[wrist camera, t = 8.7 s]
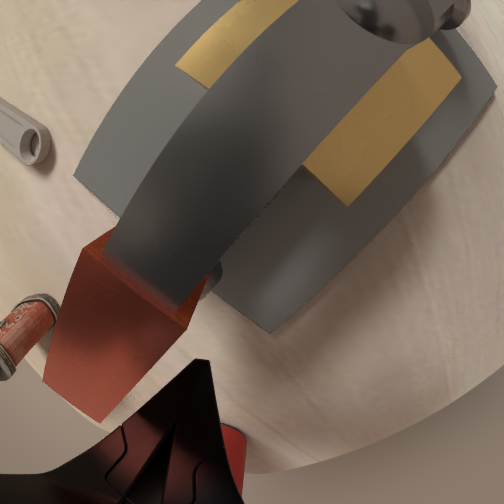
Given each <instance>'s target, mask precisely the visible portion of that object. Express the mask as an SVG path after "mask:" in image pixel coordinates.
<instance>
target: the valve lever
mask: <svg viewBox="0 0 504 504" xmlns="http://www.w3.org/2000/svg"><path fill="white" fill-rule="evenodd" d="M454 2H455V0H299V1H298V2H296V3H295V4H294V5H293V6H291V7H290V8H289V9H288V10H287V11H286V12H284V13H283V14H282V15H281V16H280V17H279V18H278V19H276V20H275V21H274V22H273V23H272V24H271V25H270V26H269V27H268V28H267V29H266V30H264V31H263V32H262V33H261V34H260V35H259V36H258V37H257V38H256V39H255V40H254V41H253V42H252V43H251V44H250V45H249V46H248V47H247V48H246V49H245V50H244V51H243V52H242V53H241V54H240V55H239V56H238V57H237V58H236V60H235V61H234V62H233V63H232V64H231V65H230V66H229V67H228V68H227V69H226V70H225V71H224V73H223V74H222V75H221V76H220V77H219V78H218V79H217V81H216V82H215V83H214V84H213V85H212V86H211V87H210V89H209V90H208V91H207V92H206V93H205V95H204V96H203V97H202V98H201V100H200V101H199V102H198V103H197V104H196V106H195V107H194V108H193V110H192V111H191V112H190V113H189V115H188V116H187V117H186V119H185V120H184V121H183V122H182V124H181V125H180V127H179V128H178V129H177V131H176V132H175V133H174V135H173V136H172V137H171V139H170V140H169V142H168V143H167V144H166V146H165V147H164V149H163V150H162V152H161V153H160V155H159V156H158V158H157V159H156V161H155V162H154V164H153V165H152V167H151V168H150V170H149V171H148V173H147V174H146V176H145V177H144V179H143V181H142V182H141V184H140V185H139V187H138V189H137V190H136V192H135V194H134V195H133V197H132V199H131V200H130V202H129V204H128V206H127V207H126V209H125V211H124V213H123V214H122V216H121V218H120V220H119V222H118V223H117V225H116V227H114V228H112V229H111V230H109V231H108V232H106V233H105V234H103V235H102V236H100V237H99V238H97V239H96V240H94V241H93V242H91V243H90V244H88V245H87V246H85V247H84V248H83V249H82V251H81V253H80V256H79V258H78V261H77V263H76V266H75V268H74V271H73V273H72V276H71V279H70V282H69V284H68V287H67V290H66V293H65V296H64V299H63V302H62V305H61V308H60V311H59V314H58V318H57V321H56V325H55V328H54V332H53V336H52V339H51V343H50V347H49V351H48V356H47V360H46V365H45V370H44V375H43V382H45V384H47V385H48V386H49V387H50V388H51V389H53V390H54V391H55V392H56V393H58V394H59V395H60V396H62V397H63V398H64V399H65V400H67V401H68V402H69V403H71V404H72V405H74V406H75V407H76V408H78V409H79V410H81V411H82V412H83V413H85V414H86V415H88V416H89V417H91V418H92V419H94V420H95V421H97V422H98V423H101V422H102V421H103V420H104V419H105V418H106V417H107V416H108V414H109V413H110V412H111V411H112V410H113V409H114V408H115V407H116V406H117V405H118V404H119V403H120V401H121V400H122V399H123V398H124V397H125V396H126V395H127V394H128V393H129V392H130V391H131V389H132V388H133V387H134V386H135V385H136V384H137V383H138V382H139V381H140V380H141V379H142V378H143V376H144V375H145V374H146V373H147V372H148V371H149V370H150V369H151V368H152V367H153V366H154V364H155V363H156V362H157V361H158V360H159V359H160V358H161V357H162V356H163V355H164V354H165V352H166V351H167V350H168V349H169V348H170V347H171V346H172V345H173V344H174V343H175V342H176V340H177V339H178V338H179V337H180V336H181V335H182V334H183V333H184V332H185V331H186V330H187V327H188V325H189V322H190V320H191V318H192V315H193V313H194V310H195V308H196V305H197V303H198V301H199V298H200V296H201V293H202V291H203V289H204V286H205V284H206V281H207V279H208V277H209V274H210V272H211V270H212V267H213V266H214V265H215V264H216V263H217V261H218V260H219V259H220V258H221V257H222V255H223V254H224V253H225V252H226V251H227V250H228V248H229V247H230V246H231V245H232V244H233V243H234V241H235V240H236V239H237V238H238V237H239V236H240V234H241V233H242V232H243V231H244V230H245V229H246V227H247V226H248V225H249V224H250V223H251V222H252V220H253V219H254V218H255V217H256V216H257V215H258V213H259V212H260V211H261V210H262V209H263V208H264V207H265V205H266V204H267V203H268V202H269V201H270V200H271V198H272V197H273V196H274V195H275V194H276V193H277V192H278V190H279V189H280V188H281V187H282V186H283V185H284V184H285V183H286V181H287V180H288V179H289V178H290V177H291V176H292V175H293V173H294V172H295V171H296V170H297V169H298V168H299V167H300V166H301V164H302V163H303V162H304V161H305V160H306V159H307V158H308V157H309V155H310V154H311V153H312V152H313V151H314V150H315V149H316V148H317V147H318V145H319V144H320V143H321V142H322V141H323V140H324V139H325V138H326V137H327V135H328V134H329V133H330V132H331V131H332V130H333V129H334V128H335V127H336V126H337V124H338V123H339V122H340V121H341V120H342V119H343V118H344V117H345V116H346V115H347V114H348V112H349V111H350V110H351V109H352V108H353V107H354V106H355V105H356V104H357V103H358V102H359V101H360V99H361V98H362V97H363V96H364V95H365V94H366V93H367V92H368V91H369V90H370V89H371V88H372V87H373V85H374V84H375V83H376V82H377V81H378V80H379V79H380V78H381V77H382V76H383V75H384V74H385V73H386V72H387V71H388V70H389V68H390V67H391V66H392V65H393V64H394V63H395V62H396V61H397V60H398V59H399V58H400V57H401V56H402V55H403V54H404V53H405V52H406V51H407V50H408V49H410V48H412V47H413V46H415V45H417V44H419V43H421V42H423V41H424V40H426V39H427V38H428V37H429V36H430V35H431V33H432V31H433V28H434V22H435V21H436V20H437V19H438V18H439V17H440V16H441V15H442V14H443V13H444V12H445V11H446V10H447V9H448V8H449V7H450V6H451V5H452V4H453V3H454Z"/></svg>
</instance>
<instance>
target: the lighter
mask: <svg viewBox="0 0 504 504" xmlns="http://www.w3.org/2000/svg"><path fill="white" fill-rule="evenodd" d="M59 311H60V306H59V304H58V303H57V302H56V300H55V299H54V298H53V297H52V296H51V295H49V294H47V293H40V294H33V295H30V296H27V297H26V298H24V299H23V300H22V301H20V302H19V303H18V304H17V305H16V306H15V307H14V308H13V310H12V311H11V313H10V314H9V315H8V316H7V317H6V318H5V319H4V320H2V321H0V381H6V380H8V379H9V378H11V376H12V375H13V374H14V373H15V371H16V366H17V365H18V363H19V362H20V361H21V360H22V359H23V357H24V356H25V355H26V354H27V353H28V352H29V351H30V349H31V348H32V347H33V346H34V345H35V344H36V343H37V342H38V340H39V339H40V338H41V337H42V336H43V335H44V334H45V333H46V332H47V331H49V330H50V329H52V328H53V327H54V326H55V325H56V321H57V318H58V314H59Z"/></svg>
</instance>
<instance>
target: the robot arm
mask: <svg viewBox="0 0 504 504" xmlns="http://www.w3.org/2000/svg"><path fill="white" fill-rule="evenodd" d="M0 504H244V501H243V499H242V497H241V495H240V493H239V490H238V488H237V485H236V483H235V480H234V478H233V475H232V471H231V468H230V464H229V461H228V456H227V452H226V448H225V443H224V438H223V433H222V428H221V423H220V418H219V412H218V407H217V401H216V396H215V390H214V384H213V378H212V372H211V366H210V361H209V360H205V359H194V360H193V361H192V362H191V363H190V364H188V365H187V366H186V367H185V368H184V369H183V370H182V371H181V372H180V373H179V374H178V375H176V376H175V377H174V378H173V379H172V380H171V381H170V382H169V383H168V384H167V385H165V386H164V387H163V388H162V389H161V390H160V391H159V392H158V393H157V394H155V395H154V396H153V397H152V398H151V399H150V400H149V401H148V402H146V403H145V404H144V405H143V406H142V407H141V408H140V409H138V410H137V411H136V412H135V413H134V414H133V415H132V416H130V417H129V418H128V419H127V420H126V421H125V422H123V423H122V426H121V425H120V426H119V427H117V428H116V429H115V430H114V431H113V432H112V433H110V434H109V435H108V436H106V437H105V438H104V439H103V440H101V441H100V442H99V443H97V444H96V445H94V446H93V447H91V448H90V449H88V450H87V451H85V452H84V453H82V454H80V455H79V456H77V457H75V458H73V459H72V460H70V461H68V462H67V463H65V464H63V465H62V466H60V467H58V468H56V469H54V470H52V471H49V472H45V473H40V474H0Z"/></svg>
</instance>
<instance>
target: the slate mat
mask: <svg viewBox="0 0 504 504" xmlns="http://www.w3.org/2000/svg"><path fill="white" fill-rule="evenodd" d="M239 1H240V0H202V1H201V2H200V3H198V4H197V5H196V6H195V7H194V8H193V9H192V10H191V11H190V12H189V13H188V14H187V15H186V16H185V17H184V18H183V19H182V20H181V21H180V22H179V23H178V24H177V25H176V26H175V27H174V28H173V29H172V30H171V31H170V32H169V33H168V34H167V36H166V37H165V38H164V39H163V40H162V41H161V42H160V43H159V45H158V46H157V47H156V48H155V49H154V50H153V52H152V53H151V54H150V55H149V56H148V58H147V59H146V60H145V61H144V63H143V64H142V65H141V66H140V68H139V69H138V70H137V71H136V73H135V74H134V75H133V77H132V78H131V79H130V81H129V82H128V84H127V85H126V86H125V88H124V89H123V91H122V92H121V93H120V95H119V96H118V98H117V99H116V101H115V102H114V104H113V105H112V107H111V108H110V110H109V112H108V113H107V115H106V116H105V118H104V120H103V121H102V123H101V125H100V126H99V128H98V130H97V131H96V133H95V135H94V137H93V138H92V140H91V142H90V144H89V146H88V147H87V149H86V151H85V153H84V155H83V157H82V159H81V161H80V163H79V165H78V167H77V169H76V171H75V173H74V175H73V176H74V177H75V178H76V179H77V180H78V181H79V182H81V183H82V184H83V185H84V186H85V187H86V188H87V189H88V190H89V191H90V192H92V193H93V194H94V195H95V196H96V197H97V198H98V199H99V200H100V201H102V202H103V203H104V204H105V205H106V206H107V207H108V208H110V209H111V210H112V211H113V212H114V213H115V214H116V215H118V216H119V217H120V218H121V216H122V214H123V213H124V211H125V209H126V207H127V206H128V204H129V202H130V200H131V199H132V197H133V195H134V194H135V192H136V190H137V189H138V187H139V185H140V184H141V182H142V181H143V179H144V177H145V176H146V174H147V173H148V171H149V170H150V168H151V167H152V165H153V164H154V162H155V161H156V159H157V158H158V156H159V155H160V153H161V152H162V150H163V149H164V147H165V146H166V144H167V143H168V142H169V140H170V139H171V137H172V136H173V135H174V133H175V132H176V131H177V129H178V128H179V127H180V125H181V124H182V122H183V121H184V120H185V119H186V117H187V116H188V115H189V113H190V112H191V111H192V110H193V108H194V107H195V106H196V104H197V103H198V102H199V101H200V100H201V98H202V97H203V96H204V95H205V93H206V92H207V90H205V89H204V88H203V87H202V86H200V85H199V84H198V83H197V82H195V81H194V80H193V79H192V78H190V77H189V76H188V75H187V74H185V73H184V72H183V71H181V70H180V69H179V68H178V67H176V66H175V65H176V63H177V62H178V61H179V60H180V59H181V58H182V57H183V56H184V54H185V53H186V52H187V51H188V50H189V49H190V48H191V47H192V46H193V45H194V44H195V43H196V41H197V40H198V39H199V38H200V37H201V36H202V35H203V34H204V33H205V32H206V31H207V30H208V29H209V28H210V27H211V26H212V25H213V24H215V23H216V22H217V21H218V20H219V19H220V18H221V17H222V16H223V15H224V14H225V13H226V12H227V11H229V10H230V9H231V8H232V7H233V6H234V5H235V4H237V3H238V2H239ZM430 39H431V40H432V41H433V43H434V44H435V45H436V46H437V47H438V48H439V49H440V50H441V52H442V53H443V54H444V55H445V56H446V58H447V59H448V60H449V61H450V63H451V64H452V65H453V66H454V68H455V69H456V70H457V71H458V73H459V74H460V75H461V77H462V78H461V79H460V81H459V82H458V83H457V84H456V86H455V87H454V88H453V89H452V90H451V92H450V93H449V94H448V95H447V97H446V98H445V99H444V100H443V101H442V103H441V104H440V105H439V106H438V107H437V108H436V110H435V111H434V112H433V113H432V114H431V116H430V117H429V118H428V119H427V120H426V121H425V123H424V124H423V125H422V126H421V127H420V128H419V129H418V131H417V132H416V133H415V134H414V135H413V136H412V137H411V139H410V140H409V141H408V142H407V143H406V144H405V145H404V146H403V148H402V149H401V150H400V151H399V152H398V153H397V154H396V155H395V157H394V158H393V159H392V160H391V161H390V162H389V163H388V164H387V165H386V166H385V168H384V169H383V170H382V171H381V172H380V173H379V174H378V175H377V176H376V177H375V178H374V180H373V181H372V182H371V183H370V184H369V185H368V186H367V187H366V188H365V189H364V190H363V191H362V192H361V193H360V195H359V196H358V197H357V198H356V199H355V200H354V201H353V202H352V203H351V204H350V205H349V206H348V207H346V206H345V205H344V204H343V203H342V202H341V201H339V200H338V199H337V198H336V197H335V196H333V195H332V194H331V193H330V192H329V191H327V190H326V189H325V188H324V187H322V186H321V185H320V184H319V183H317V182H316V181H315V180H314V179H312V178H311V177H310V176H309V175H308V174H307V173H306V172H305V171H304V170H303V169H302V170H301V171H300V172H299V174H298V175H297V176H296V177H295V178H294V179H293V180H292V181H291V182H290V183H289V184H288V185H287V187H286V188H285V189H284V190H283V191H282V192H281V193H280V194H279V195H278V196H277V197H276V199H275V200H274V201H273V202H272V203H271V204H270V205H269V206H268V207H267V208H266V209H265V211H264V212H263V213H262V214H261V215H260V216H259V217H258V218H257V219H256V221H255V222H254V223H253V224H252V225H251V226H250V227H249V228H248V229H247V231H246V232H245V233H244V234H243V235H242V236H241V237H240V238H239V239H238V241H237V242H236V243H235V244H234V245H233V246H232V247H231V248H230V249H229V251H228V252H227V253H226V254H225V255H224V256H223V257H222V258H221V260H220V261H221V265H222V270H223V274H222V278H221V280H220V281H219V282H218V283H217V285H216V286H215V287H214V288H213V289H212V290H211V291H212V292H213V293H215V294H216V295H218V296H219V297H220V298H222V299H223V300H224V301H226V302H227V303H228V304H230V305H231V306H232V307H234V308H235V309H237V310H238V311H239V312H241V313H242V314H243V315H245V316H246V317H248V318H249V319H250V320H252V321H253V322H255V323H256V324H257V325H259V326H260V327H262V328H263V329H265V330H266V331H267V332H269V333H270V334H271V333H272V332H273V331H274V330H276V329H277V328H278V327H279V326H280V325H281V324H283V323H284V322H285V321H286V320H287V319H288V318H290V317H291V316H292V315H293V314H294V313H295V312H296V311H298V310H299V309H300V308H301V307H302V306H303V305H304V304H305V303H307V302H308V301H309V300H310V299H311V298H312V297H313V296H314V295H315V294H316V293H318V292H319V291H320V290H321V289H322V288H323V287H324V286H325V285H326V284H327V283H328V282H329V281H331V280H332V279H333V278H334V277H335V276H336V275H337V274H338V273H339V272H340V271H341V270H342V269H343V268H344V267H345V266H346V265H347V264H348V263H349V262H350V261H351V260H352V259H353V258H354V257H355V256H356V255H357V254H358V253H359V252H360V251H361V250H362V249H363V248H364V247H365V246H366V245H367V244H368V243H369V242H370V241H371V240H372V239H373V238H374V237H375V236H376V235H377V234H378V233H379V232H380V231H381V230H382V229H383V228H384V227H385V226H386V225H387V224H388V223H389V222H390V221H391V219H392V218H393V217H394V216H395V215H396V214H397V213H398V212H399V211H400V210H401V209H402V208H403V206H404V205H405V204H406V203H407V202H408V201H409V200H410V199H411V198H412V196H413V195H414V194H415V193H416V192H417V191H418V190H419V189H420V187H421V186H422V185H423V184H424V183H425V182H426V180H427V179H428V178H429V177H430V176H431V175H432V173H433V172H434V171H435V170H436V169H437V167H438V166H439V165H440V164H441V163H442V161H443V160H444V159H445V158H446V156H447V155H448V154H449V153H450V151H451V150H452V149H453V148H454V146H455V145H456V144H457V142H458V141H459V140H460V139H461V137H462V136H463V135H464V133H465V132H466V131H467V129H468V128H469V127H470V125H471V124H472V123H473V121H474V120H475V119H476V117H477V116H478V114H479V113H480V112H481V110H482V109H483V107H484V106H485V104H486V103H487V101H488V100H489V99H490V97H491V96H492V94H493V93H494V91H495V90H496V88H497V85H496V84H495V82H494V80H493V79H492V77H491V76H490V74H489V73H488V71H487V70H486V68H485V67H484V65H483V64H482V62H481V61H480V60H479V58H478V57H477V56H476V54H475V53H474V51H473V50H472V49H471V48H470V46H469V45H468V44H467V42H466V41H465V40H464V39H463V38H462V36H461V35H460V34H459V33H458V32H457V30H456V29H452V30H440V29H438V30H437V31H436V32H435V33H434V34H433V35H432V36H431V37H430Z"/></svg>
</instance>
